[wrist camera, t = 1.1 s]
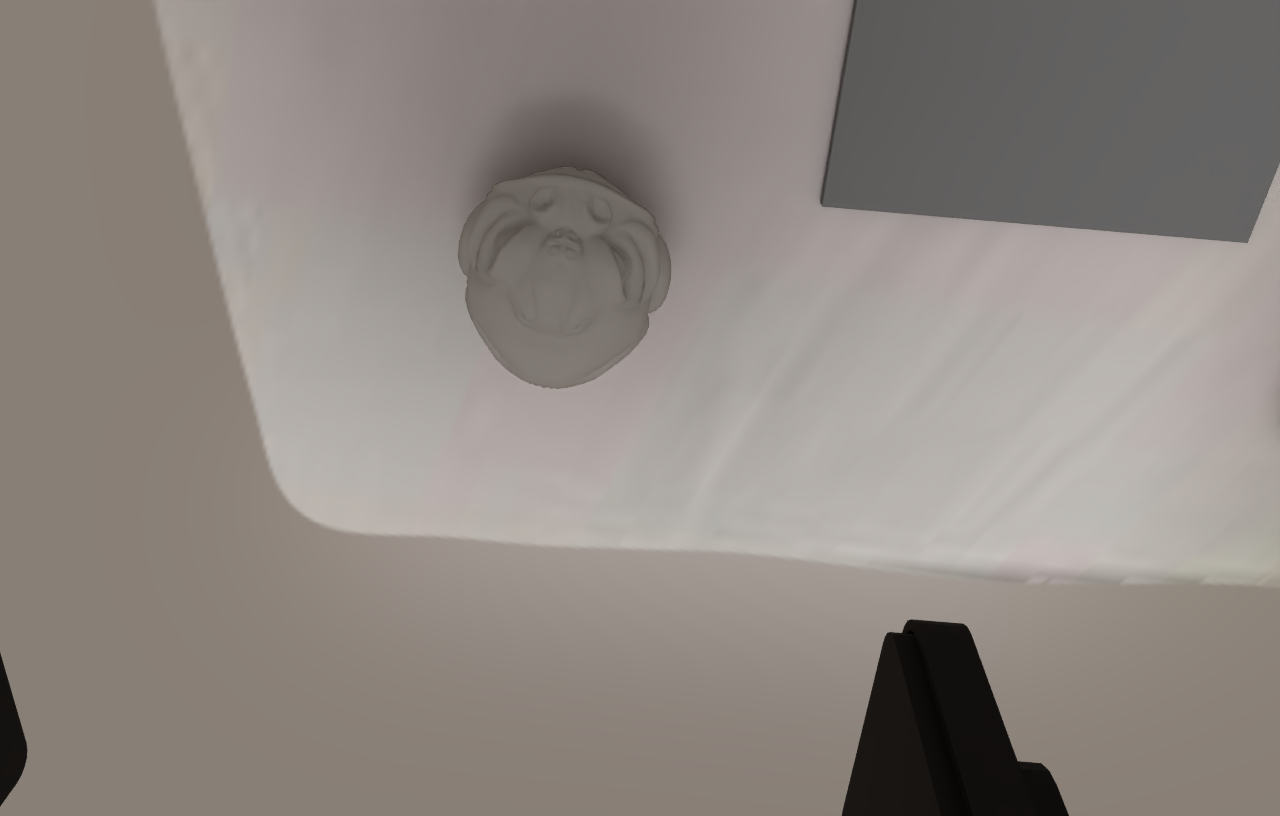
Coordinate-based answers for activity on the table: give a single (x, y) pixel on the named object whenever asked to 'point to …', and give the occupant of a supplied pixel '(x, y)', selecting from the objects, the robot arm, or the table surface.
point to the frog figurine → (562, 275)
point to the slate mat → (1061, 113)
